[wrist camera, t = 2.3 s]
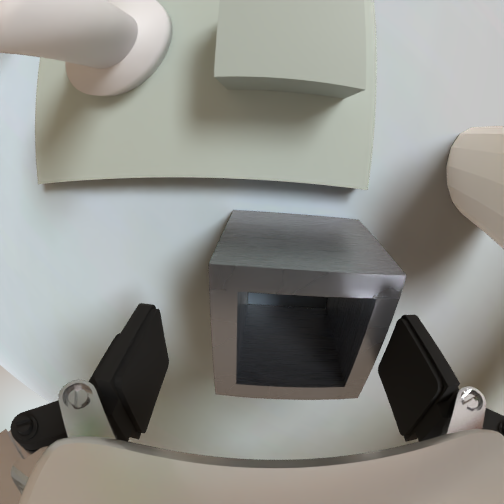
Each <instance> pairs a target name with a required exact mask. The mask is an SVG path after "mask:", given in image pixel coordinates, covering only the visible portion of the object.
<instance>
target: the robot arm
mask: <svg viewBox="0 0 504 504" xmlns="http://www.w3.org/2000/svg"><path fill="white" fill-rule="evenodd" d="M168 364H169V358H168V353H167V348H166V343H165V338H164V332H163V326H162V320H161V314H160V310H159V309H156V307H155V305H150V304H142V303H141V304H139V305H138V307H137V308H136V310H135V311H134V313H133V314H132V316H131V318H130V319H129V321H128V322H127V324H126V326H125V327H124V329H123V330H122V332H121V333H119V334H117V335H116V337H115V338H114V340H113V341H112V343H111V345H110V346H109V348H108V350H107V351H106V353H105V355H104V356H103V358H102V360H101V361H100V363H99V365H98V366H97V368H96V370H95V371H94V373H93V375H92V377H91V378H90V380H89V382H88V381H85V380H74V381H71V382H69V383H67V384H66V385H64V386H63V388H62V389H61V390H60V393H59V400H58V401H55V402H52V403H49V404H47V405H44V406H41V407H38V408H35V409H32V410H28V411H25V412H22V413H20V414H19V415H17V416H16V417H15V418H14V420H13V421H12V424H11V430H10V431H9V432H8V431H7V430H6V429H5V430H4V431H2V432H1V433H0V504H504V416H502V415H500V414H498V413H496V412H494V411H491V410H489V409H487V408H486V400H485V397H484V395H483V394H482V393H481V392H480V391H479V390H478V389H476V388H474V387H470V386H466V387H463V388H461V389H460V390H459V389H458V386H459V384H460V383H459V381H458V379H457V378H456V376H455V374H454V372H453V371H452V369H451V367H450V366H449V364H448V362H447V361H446V359H445V358H444V356H443V354H442V353H441V351H440V350H439V348H438V347H437V345H436V343H435V342H434V340H433V339H432V337H431V336H430V334H429V333H428V331H427V330H426V328H425V327H424V325H423V324H422V322H421V321H420V319H419V318H418V317H417V316H416V315H403V316H402V317H401V319H399V320H398V321H397V323H396V326H395V328H394V331H393V333H392V336H391V338H390V341H389V343H388V346H387V348H386V351H385V353H384V355H383V357H382V360H381V362H380V364H379V367H378V373H379V376H380V378H381V381H382V384H383V386H384V389H385V392H386V394H387V397H388V400H389V403H390V405H391V408H392V411H393V414H394V417H395V420H396V423H397V426H398V429H399V432H400V434H401V435H402V436H403V435H404V438H405V441H410V440H414V439H417V438H418V440H419V442H416V443H412V444H408V445H404V446H400V447H395V448H390V449H385V450H380V451H375V452H369V453H362V454H355V455H348V456H339V457H330V458H317V459H299V460H254V459H236V458H223V457H213V456H205V455H197V454H190V453H184V452H177V451H171V450H166V449H160V448H155V447H150V446H146V445H141V444H136V443H131V442H128V440H129V437H132V438H136V439H139V438H140V435H141V433H145V432H146V430H147V427H148V424H149V421H150V418H151V415H152V412H153V409H154V406H155V403H156V400H157V397H158V394H159V391H160V388H161V385H162V383H163V380H164V377H165V374H166V371H167V369H168Z"/></svg>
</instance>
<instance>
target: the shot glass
mask: <svg viewBox="0 0 504 504" xmlns="http://www.w3.org/2000/svg"><path fill="white" fill-rule="evenodd" d="M446 166H447V186H448V190H449V193H450V196H451V199H452V202H453V203H454V205H455V206H456V207H457V209H458V210H459V211H460V213H461V214H463V215H464V216H465V217H466V218H468V219H469V220H470V221H471V222H473V223H474V224H475V225H476V226H478V227H479V228H480V229H481V230H482V231H484V232H485V233H486V234H487V235H488V236H490V237H491V238H492V239H493V240H494V241H495V242H496V243H497V244H499V245H500V246H501V247H502V248H503V249H504V126H493V127H471V128H469V129H468V130H466V131H464V132H462V133H460V134H459V136H458V137H457V139H456V140H455V142H454V143H453V145H452V146H451V149H450V153H449V157H448V161H447V165H446Z"/></svg>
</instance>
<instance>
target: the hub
mask: <svg viewBox="0 0 504 504" xmlns="http://www.w3.org/2000/svg"><path fill="white" fill-rule="evenodd" d="M405 279H406V274H405V273H404V272H403V271H402V269H401V268H400V267H399V266H398V265H397V263H396V262H395V261H394V260H393V258H392V257H391V256H390V255H389V254H388V253H387V251H386V250H385V249H384V248H383V247H382V245H381V244H380V243H379V242H378V241H377V240H376V239H375V237H374V236H373V235H372V234H371V233H370V232H369V231H368V230H367V228H366V227H365V226H364V225H363V224H362V223H361V222H360V221H359V220H356V219H346V218H335V217H324V216H312V215H300V214H287V213H273V212H257V211H240V210H233V212H232V214H231V216H230V219H229V221H228V223H227V225H226V227H225V229H224V231H223V234H222V236H221V238H220V240H219V242H218V244H217V247H216V249H215V251H214V253H213V255H212V257H211V260H210V262H209V291H210V315H211V334H212V351H213V367H214V381H215V393H216V394H220V395H229V396H239V397H251V398H267V399H294V400H322V399H349V398H358V396H359V394H360V392H361V390H362V388H363V386H364V384H365V382H366V380H367V378H368V376H369V374H370V372H371V369H372V367H373V365H374V363H375V361H376V358H377V356H378V354H379V351H380V349H381V346H382V344H383V342H384V339H385V337H386V334H387V332H388V329H389V326H390V324H391V321H392V318H393V315H394V313H395V310H396V307H397V304H398V301H399V298H400V295H401V292H402V289H403V286H404V283H405ZM248 292H252V293H267V294H282V295H300V296H320V297H328V300H327V305H326V308H306V307H286V306H270V305H255V304H247V303H248Z"/></svg>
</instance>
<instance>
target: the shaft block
mask: <svg viewBox="0 0 504 504" xmlns="http://www.w3.org/2000/svg"><path fill="white" fill-rule="evenodd" d="M0 53H10V54H20V55H28V56H35V57H40V63H39V71H38V80H37V92H36V111H35V145H36V165H37V177H38V184H46V183H56V182H68V181H81V180H96V179H116V178H150V177H198V178H233V179H254V180H271V181H285V182H298V183H309V184H319V185H329V186H338V187H347V188H355V189H363V190H368V184H369V176H370V167H371V158H372V149H373V137H374V124H375V108H376V79H377V51H376V24H375V9H374V0H0Z"/></svg>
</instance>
